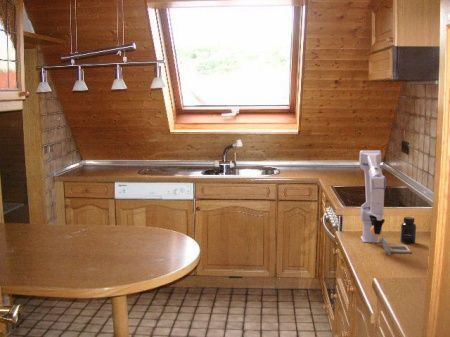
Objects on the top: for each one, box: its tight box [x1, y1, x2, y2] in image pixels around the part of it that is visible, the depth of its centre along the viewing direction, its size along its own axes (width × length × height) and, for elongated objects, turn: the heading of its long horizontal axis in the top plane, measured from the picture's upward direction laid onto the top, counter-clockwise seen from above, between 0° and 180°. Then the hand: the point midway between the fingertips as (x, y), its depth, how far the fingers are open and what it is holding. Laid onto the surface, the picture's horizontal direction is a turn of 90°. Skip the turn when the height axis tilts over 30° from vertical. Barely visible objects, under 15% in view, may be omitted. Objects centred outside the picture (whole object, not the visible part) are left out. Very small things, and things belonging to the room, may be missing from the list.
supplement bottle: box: [400, 216, 417, 245], centre depth 246 cm, size 7×7×12 cm
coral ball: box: [371, 226, 383, 237], centre depth 235 cm, size 5×5×5 cm
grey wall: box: [381, 235, 392, 256], centre depth 235 cm, size 16×1×4 cm, turn 173°
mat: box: [390, 244, 412, 255], centre depth 235 cm, size 11×9×1 cm
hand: (376, 232), depth 235 cm, fingers closed on coral ball, 5 cm apart
